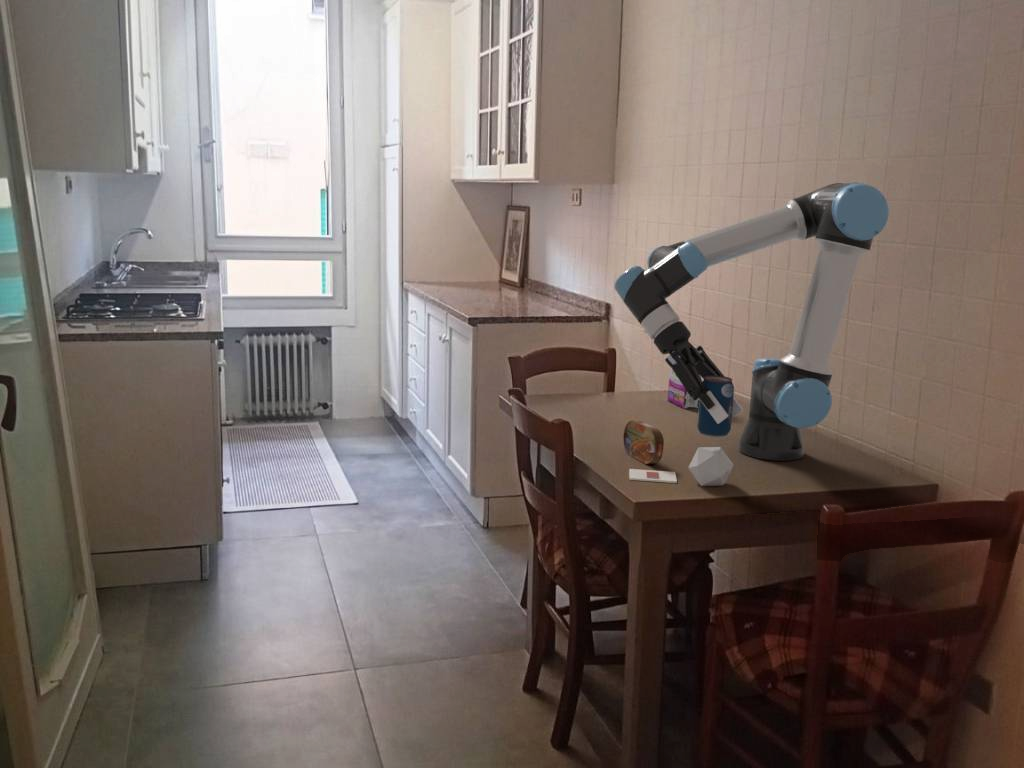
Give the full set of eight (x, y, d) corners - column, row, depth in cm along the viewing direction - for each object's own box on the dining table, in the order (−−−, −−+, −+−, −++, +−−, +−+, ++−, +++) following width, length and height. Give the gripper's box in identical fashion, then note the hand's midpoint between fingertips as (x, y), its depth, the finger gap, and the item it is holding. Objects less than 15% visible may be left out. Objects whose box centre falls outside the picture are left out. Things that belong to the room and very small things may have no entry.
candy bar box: (699, 408, 276) (704, 352, 272) (684, 409, 274) (688, 352, 271) (681, 400, 286) (686, 346, 283) (666, 400, 285) (670, 346, 281)
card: (675, 473, 211) (675, 471, 211) (676, 483, 204) (676, 480, 204) (629, 470, 212) (629, 468, 212) (629, 479, 205) (629, 477, 205)
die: (725, 495, 200) (745, 455, 202) (691, 474, 199) (711, 434, 201) (710, 497, 208) (729, 458, 210) (676, 476, 207) (696, 438, 209)
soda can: (735, 437, 200) (740, 381, 198) (705, 438, 199) (709, 381, 196) (721, 429, 207) (726, 374, 205) (691, 429, 205) (695, 374, 203)
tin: (621, 451, 228) (623, 416, 226) (633, 450, 229) (635, 415, 228) (652, 469, 214) (654, 432, 213) (664, 468, 215) (667, 431, 214)
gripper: (675, 336, 216) (737, 419, 210) (632, 346, 200) (697, 435, 194) (699, 315, 212) (762, 399, 206) (656, 323, 196) (723, 414, 190)
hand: (730, 416), depth 200 cm, fingers closed on soda can, 7 cm apart
